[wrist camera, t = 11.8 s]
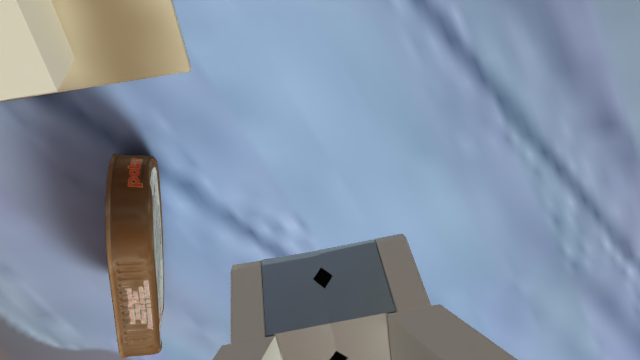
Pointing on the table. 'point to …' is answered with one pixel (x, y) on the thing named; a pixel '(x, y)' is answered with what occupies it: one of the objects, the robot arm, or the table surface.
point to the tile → (31, 49)
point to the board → (120, 41)
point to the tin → (135, 252)
